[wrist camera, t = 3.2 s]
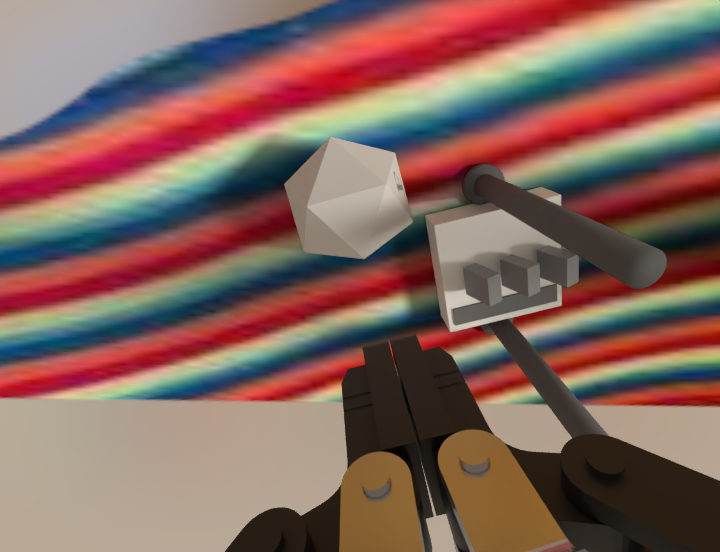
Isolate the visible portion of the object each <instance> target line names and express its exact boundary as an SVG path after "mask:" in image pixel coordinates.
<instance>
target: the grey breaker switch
mask: <svg viewBox="0 0 720 552" xmlns="http://www.w3.org/2000/svg"><path fill="white" fill-rule="evenodd" d="M537 263H539V264H540V278H542V279H545V280H547V281H550V282H553V283H555V284H558V285H561V286H563V287H566V288H568V287H570V286H572V285H574V284H576V283H578V282H579V256H578V255H576V254H575V253H573V252H571V251H567V250H564V249H560V248H557V247H553V246H550V245H547V246H544V247H542V248H540V249H538V250H537Z"/></svg>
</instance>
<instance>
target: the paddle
mask: <svg viewBox="0 0 720 552" xmlns="http://www.w3.org/2000/svg"><path fill="white" fill-rule="evenodd" d="M463 273H464V281H465V289H466V294H467V295H469V296H471V297H473V298H475V299H476V300H478V301H480V302H482V303H484V304H486V305H488V306H492V305H494V304H497V303H499V302H501V301H502V291H501V278H500V273H499V272H496V271H494V270H492V269H489V268H487V267H484V266H482V265H479V264H477V263H473V264H471V265H469V266H466V267H464V268H463Z"/></svg>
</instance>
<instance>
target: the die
mask: <svg viewBox="0 0 720 552" xmlns="http://www.w3.org/2000/svg"><path fill="white" fill-rule="evenodd" d="M284 185H285V189H286V192H287V196H288V199H289V203H290V206H291V210H292V213H293V217H294V220H295V224H296V227H297V231H298V234H299V238H300V241H301V245H302V248H303V252H304V253H313V254H322V255H331V256H340V257H350V258H359V259H365V258H366V257H368V256H369V255H370V254H372V253H373V252H374V251H376V250H377V249H378V248H380V247H381V246H382V245H384V244H385V243H386V242H387V241H389V240H390V239H391V238H393V237H394V236H395V235H397V234H398V233H399V232H401V231H402V230H403V229H405V228H406V227H407V226H409V225H410V224H411V223H413V219H412V215H411V212H410V208H409V204H408V200H407V197H406V193H405V189H404V185H403V182H402V178H401V174H400V170H399V167H398V163H397V159H396V155H395V153H394V152H390V151H386V150H382V149H378V148H374V147H370V146H366V145H361V144H357V143H353V142H349V141H345V140H341V139H337V138H333V137H330V138H329V139H328V140H327V141H326V142H325V143H324V144H323V145H322V146H321V147H320V148H319V149H318V150H317V151H316V152H315V153H314V154H313V155H312V156H311V157H310V158H309V159H308V160H307V161H306V162H305V163H304V164H303V165H302V166H301V167H300V168H299V169H298V171H297V172H296V173H295V174H294V175H293V176H292V177H291V178H290V179H289V180H288V181H287V182H286V183H285V184H284Z"/></svg>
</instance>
